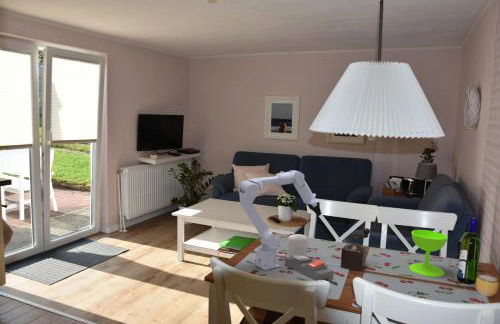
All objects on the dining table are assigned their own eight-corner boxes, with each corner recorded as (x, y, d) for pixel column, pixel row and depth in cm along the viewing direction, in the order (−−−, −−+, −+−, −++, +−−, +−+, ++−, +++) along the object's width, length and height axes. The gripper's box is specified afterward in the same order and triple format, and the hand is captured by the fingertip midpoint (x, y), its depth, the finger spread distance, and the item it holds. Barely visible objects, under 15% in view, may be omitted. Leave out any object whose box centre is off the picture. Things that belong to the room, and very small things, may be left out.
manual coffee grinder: (363, 271, 191) (365, 235, 189) (340, 267, 196) (342, 231, 194) (369, 262, 205) (371, 227, 203) (347, 258, 210) (349, 224, 208)
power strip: (330, 287, 171) (331, 277, 171) (284, 264, 196) (285, 255, 196) (344, 283, 176) (344, 273, 176) (297, 262, 201) (298, 253, 201)
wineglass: (401, 266, 200) (404, 231, 198) (426, 263, 206) (429, 229, 204) (425, 278, 185) (429, 240, 184) (452, 274, 191) (455, 238, 189)
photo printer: (305, 256, 210) (306, 233, 209) (307, 259, 206) (308, 235, 205) (286, 256, 209) (287, 233, 207) (288, 259, 204) (289, 235, 203)
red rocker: (314, 269, 181) (313, 267, 181) (308, 266, 184) (307, 264, 184) (324, 264, 184) (324, 262, 184) (318, 261, 188) (317, 259, 187)
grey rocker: (299, 260, 189) (299, 257, 189) (293, 257, 192) (294, 255, 192) (308, 260, 193) (309, 258, 193) (303, 258, 196) (303, 255, 196)
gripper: (316, 191, 191) (329, 213, 196) (306, 182, 205) (318, 203, 210) (304, 199, 191) (317, 221, 196) (294, 190, 205) (306, 210, 209)
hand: (316, 212), depth 203 cm, fingers open, 7 cm apart
